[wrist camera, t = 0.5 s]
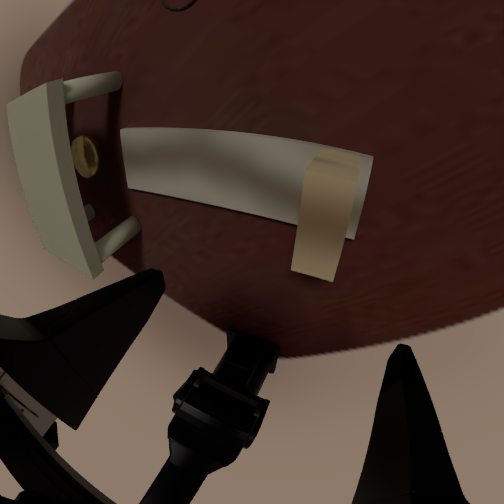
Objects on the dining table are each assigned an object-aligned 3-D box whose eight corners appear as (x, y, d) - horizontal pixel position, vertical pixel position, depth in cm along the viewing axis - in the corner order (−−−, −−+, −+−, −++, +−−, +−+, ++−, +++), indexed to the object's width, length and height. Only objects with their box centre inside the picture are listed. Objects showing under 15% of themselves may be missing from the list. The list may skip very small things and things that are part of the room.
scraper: (354, 232, 19) (345, 285, 15) (134, 183, 25) (90, 211, 21) (372, 155, 16) (373, 186, 11) (127, 127, 22) (76, 147, 17)
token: (106, 175, 26) (98, 179, 25) (82, 172, 28) (75, 176, 27) (99, 132, 23) (91, 136, 22) (76, 134, 25) (68, 137, 24)
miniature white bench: (144, 235, 29) (93, 279, 23) (88, 217, 32) (44, 249, 26) (124, 67, 18) (46, 82, 12) (65, 85, 21) (6, 104, 15)
